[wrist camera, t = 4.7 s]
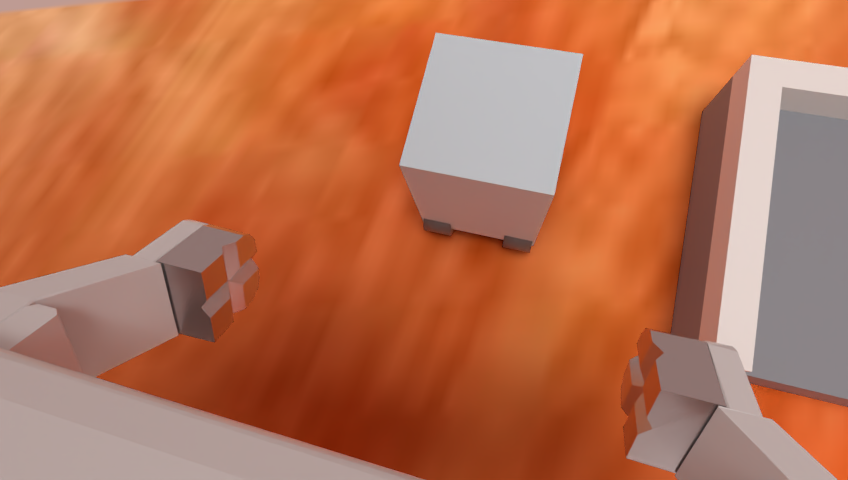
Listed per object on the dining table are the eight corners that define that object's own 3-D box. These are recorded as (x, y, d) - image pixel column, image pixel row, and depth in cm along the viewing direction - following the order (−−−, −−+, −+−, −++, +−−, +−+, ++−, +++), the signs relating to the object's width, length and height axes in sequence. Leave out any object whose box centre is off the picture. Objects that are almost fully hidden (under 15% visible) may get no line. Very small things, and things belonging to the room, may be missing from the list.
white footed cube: (425, 235, 24) (396, 173, 16) (452, 130, 25) (438, 25, 17) (529, 258, 23) (552, 204, 15) (552, 148, 24) (584, 46, 16)
